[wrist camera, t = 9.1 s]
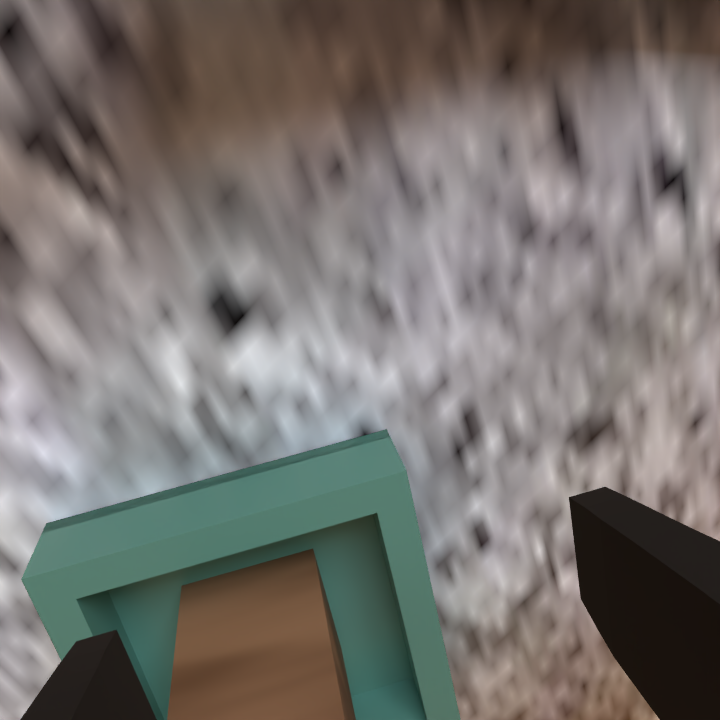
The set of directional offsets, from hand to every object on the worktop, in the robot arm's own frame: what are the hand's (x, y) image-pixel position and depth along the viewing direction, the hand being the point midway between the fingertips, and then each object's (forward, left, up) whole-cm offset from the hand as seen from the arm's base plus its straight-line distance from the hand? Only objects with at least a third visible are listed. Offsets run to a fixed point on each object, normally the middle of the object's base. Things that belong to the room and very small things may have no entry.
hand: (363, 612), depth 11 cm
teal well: (-7, +3, -9) cm, 12 cm away
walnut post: (-7, +3, -9) cm, 12 cm away
